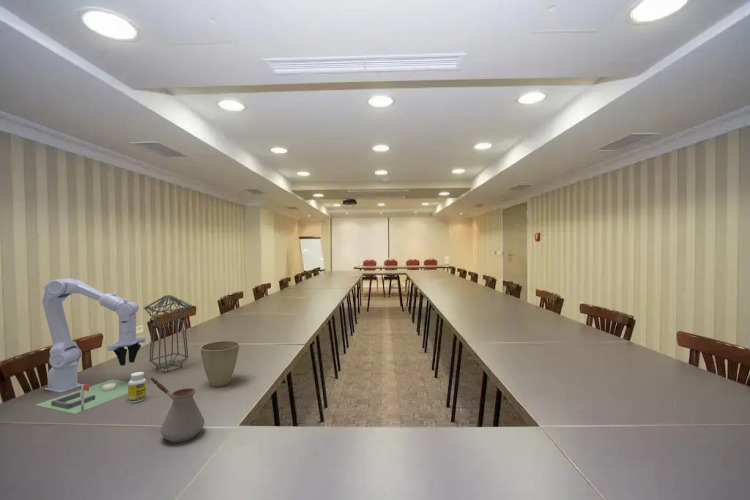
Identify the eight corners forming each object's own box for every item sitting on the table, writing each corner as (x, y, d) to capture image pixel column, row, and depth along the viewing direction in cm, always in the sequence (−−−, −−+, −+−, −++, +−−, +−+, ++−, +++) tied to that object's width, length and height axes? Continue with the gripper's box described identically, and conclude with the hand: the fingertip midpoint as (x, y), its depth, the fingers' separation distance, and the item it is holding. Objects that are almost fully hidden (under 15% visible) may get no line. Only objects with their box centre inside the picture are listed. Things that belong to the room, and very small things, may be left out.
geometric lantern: (194, 367, 164) (193, 294, 163) (159, 378, 150) (158, 298, 150) (176, 361, 172) (176, 291, 171) (142, 371, 159) (141, 295, 158)
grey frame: (51, 405, 121) (51, 380, 121) (78, 396, 129) (78, 372, 130) (85, 412, 116) (85, 386, 116) (111, 402, 124) (111, 377, 124)
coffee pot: (212, 430, 105) (213, 381, 105) (177, 450, 95) (178, 395, 95) (167, 416, 114) (168, 371, 114) (130, 432, 104) (131, 383, 104)
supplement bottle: (136, 403, 124) (136, 376, 124) (124, 402, 125) (124, 375, 125) (149, 397, 129) (149, 371, 129) (137, 396, 130) (137, 370, 130)
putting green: (35, 405, 122) (35, 404, 122) (111, 380, 147) (111, 379, 147) (75, 414, 115) (75, 413, 115) (147, 386, 140) (147, 385, 140)
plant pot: (191, 387, 139) (192, 347, 139) (220, 375, 153) (220, 339, 153) (219, 392, 134) (219, 351, 134) (246, 379, 147) (247, 342, 148)
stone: (100, 390, 134) (100, 385, 134) (111, 387, 138) (111, 382, 138) (107, 392, 133) (107, 387, 133) (118, 388, 137) (118, 383, 137)
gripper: (116, 335, 134) (116, 370, 134) (150, 328, 148) (150, 359, 148) (103, 334, 137) (103, 368, 136) (139, 326, 150) (138, 357, 150)
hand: (127, 363), depth 142 cm, fingers open, 3 cm apart
